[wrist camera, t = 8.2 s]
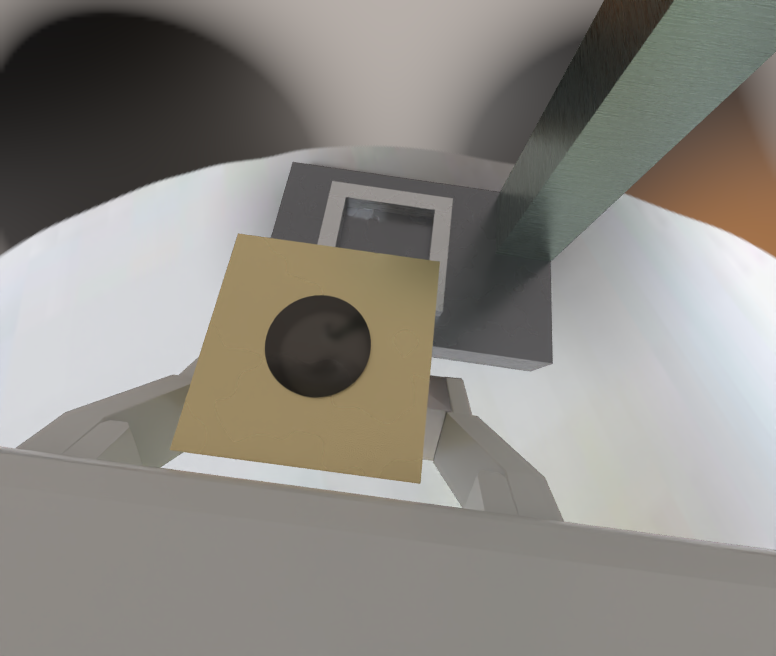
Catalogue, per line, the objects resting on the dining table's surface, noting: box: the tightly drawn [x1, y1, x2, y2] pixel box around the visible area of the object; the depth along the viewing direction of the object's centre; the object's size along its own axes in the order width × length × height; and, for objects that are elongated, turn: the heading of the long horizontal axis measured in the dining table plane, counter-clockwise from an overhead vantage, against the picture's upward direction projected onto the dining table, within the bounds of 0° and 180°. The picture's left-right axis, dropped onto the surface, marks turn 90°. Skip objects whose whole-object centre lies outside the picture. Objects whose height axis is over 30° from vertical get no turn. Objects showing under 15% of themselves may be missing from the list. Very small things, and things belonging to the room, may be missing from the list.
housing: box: [170, 234, 440, 484], centre depth 10 cm, size 4×4×9 cm
